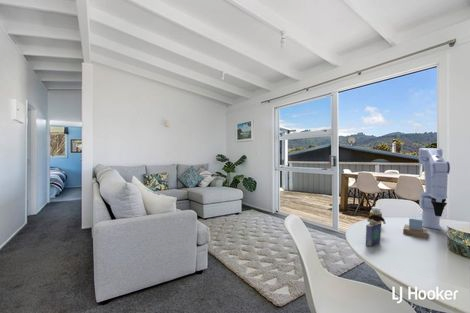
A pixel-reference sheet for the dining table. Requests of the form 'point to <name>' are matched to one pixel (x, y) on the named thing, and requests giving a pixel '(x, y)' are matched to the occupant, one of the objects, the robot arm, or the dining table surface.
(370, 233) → the flask
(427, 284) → the dining table surface
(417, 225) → the slate cube
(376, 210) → the grandmother figurine
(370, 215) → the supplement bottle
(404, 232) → the walnut block
